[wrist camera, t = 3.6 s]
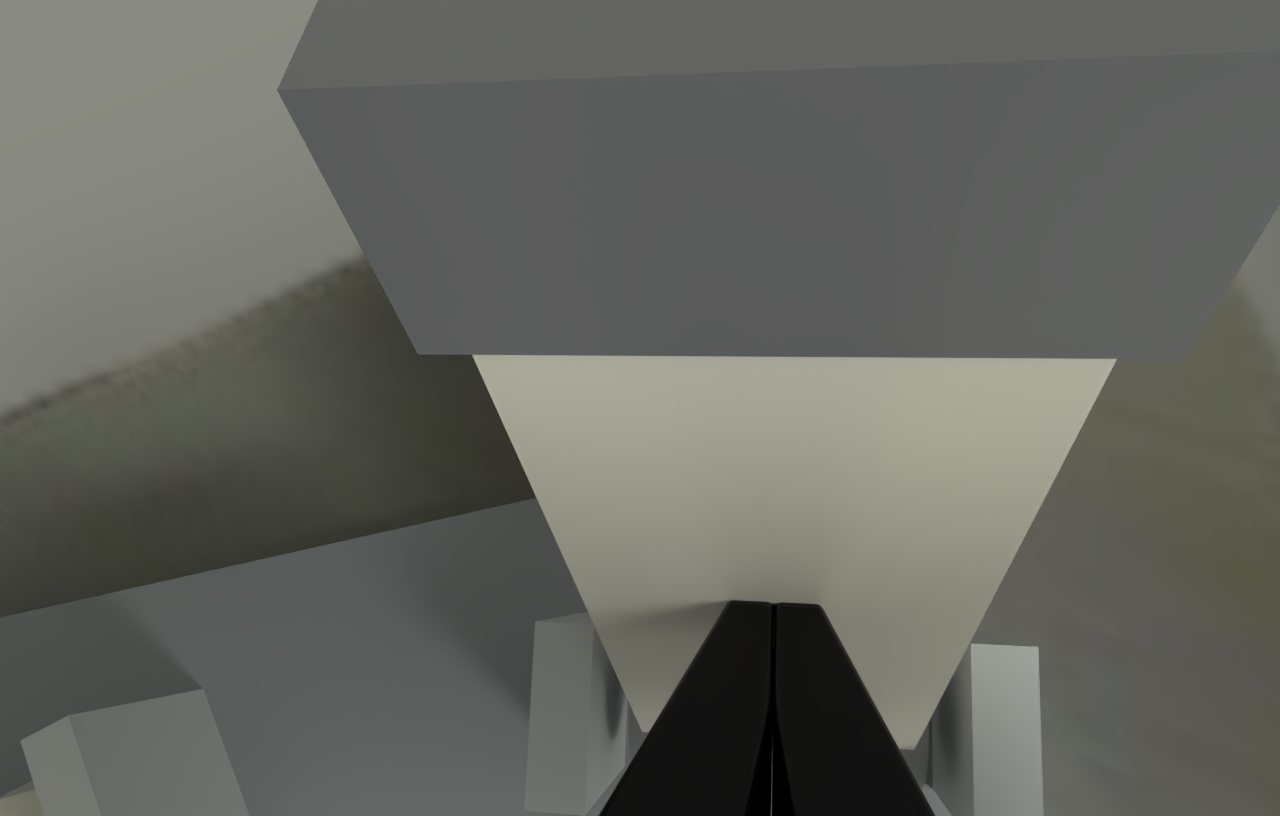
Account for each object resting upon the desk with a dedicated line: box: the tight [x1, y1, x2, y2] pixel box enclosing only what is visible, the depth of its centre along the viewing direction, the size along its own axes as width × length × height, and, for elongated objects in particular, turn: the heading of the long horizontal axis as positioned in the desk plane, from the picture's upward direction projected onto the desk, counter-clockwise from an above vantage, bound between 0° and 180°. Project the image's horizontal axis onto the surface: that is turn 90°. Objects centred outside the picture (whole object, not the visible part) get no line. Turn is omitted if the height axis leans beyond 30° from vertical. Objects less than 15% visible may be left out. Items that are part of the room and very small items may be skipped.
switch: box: [277, 0, 1280, 789], centre depth 9 cm, size 2×4×12 cm, turn 88°
